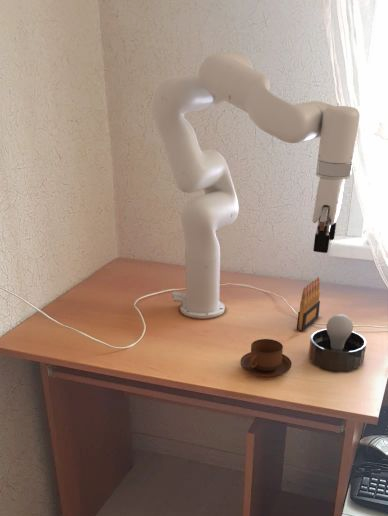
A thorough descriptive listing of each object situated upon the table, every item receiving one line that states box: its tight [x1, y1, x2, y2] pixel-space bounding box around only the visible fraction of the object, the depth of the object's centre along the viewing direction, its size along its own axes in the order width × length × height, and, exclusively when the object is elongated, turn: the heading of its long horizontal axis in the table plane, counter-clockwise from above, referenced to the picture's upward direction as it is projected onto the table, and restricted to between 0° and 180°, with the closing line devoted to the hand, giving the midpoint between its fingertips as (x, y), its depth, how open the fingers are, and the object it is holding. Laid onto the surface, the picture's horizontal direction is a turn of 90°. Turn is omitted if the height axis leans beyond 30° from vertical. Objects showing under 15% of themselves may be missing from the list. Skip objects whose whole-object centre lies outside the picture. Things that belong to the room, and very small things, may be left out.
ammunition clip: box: [296, 276, 321, 332], centre depth 167 cm, size 11×2×12 cm, turn 148°
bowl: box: [308, 328, 367, 373], centre depth 151 cm, size 13×13×6 cm
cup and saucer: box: [240, 338, 292, 378], centre depth 147 cm, size 12×12×6 cm
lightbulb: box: [325, 313, 354, 352], centre depth 149 cm, size 6×6×11 cm
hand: (323, 245), depth 146 cm, fingers open, 9 cm apart
